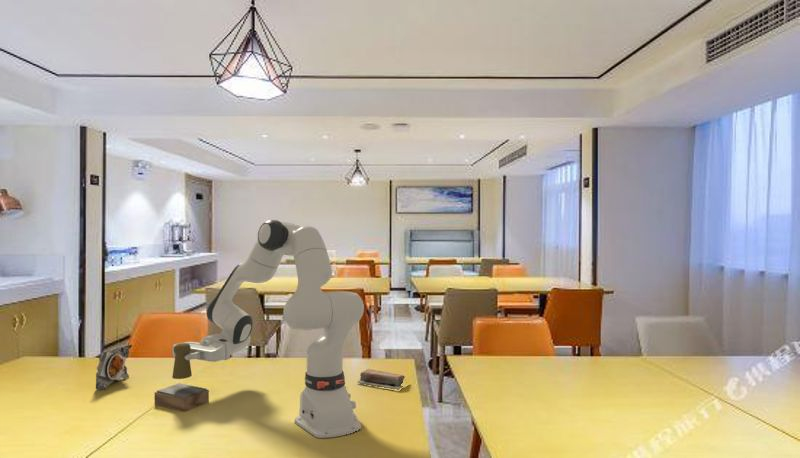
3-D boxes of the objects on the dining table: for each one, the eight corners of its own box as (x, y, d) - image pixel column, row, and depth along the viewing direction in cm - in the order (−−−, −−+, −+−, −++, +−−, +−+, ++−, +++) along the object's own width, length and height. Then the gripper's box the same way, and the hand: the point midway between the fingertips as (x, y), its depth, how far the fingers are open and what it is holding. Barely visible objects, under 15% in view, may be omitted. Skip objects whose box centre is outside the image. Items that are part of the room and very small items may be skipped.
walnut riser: (179, 395, 176) (179, 382, 176) (208, 401, 169) (208, 388, 169) (154, 404, 167) (154, 391, 167) (184, 411, 160) (184, 397, 160)
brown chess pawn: (194, 373, 171) (194, 341, 171) (187, 379, 165) (187, 345, 165) (177, 373, 171) (177, 341, 171) (168, 378, 165) (168, 345, 165)
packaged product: (356, 372, 189) (370, 366, 198) (356, 385, 189) (370, 378, 198) (398, 379, 180) (411, 372, 189) (398, 393, 180) (411, 385, 189)
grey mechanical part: (106, 390, 181) (106, 354, 181) (95, 390, 181) (95, 354, 181) (132, 377, 196) (132, 344, 195) (122, 377, 196) (122, 344, 196)
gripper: (191, 335, 184) (158, 343, 172) (233, 341, 175) (201, 350, 163) (191, 352, 184) (158, 362, 172) (233, 359, 175) (201, 370, 163)
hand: (179, 356), depth 167 cm, fingers closed on brown chess pawn, 4 cm apart
